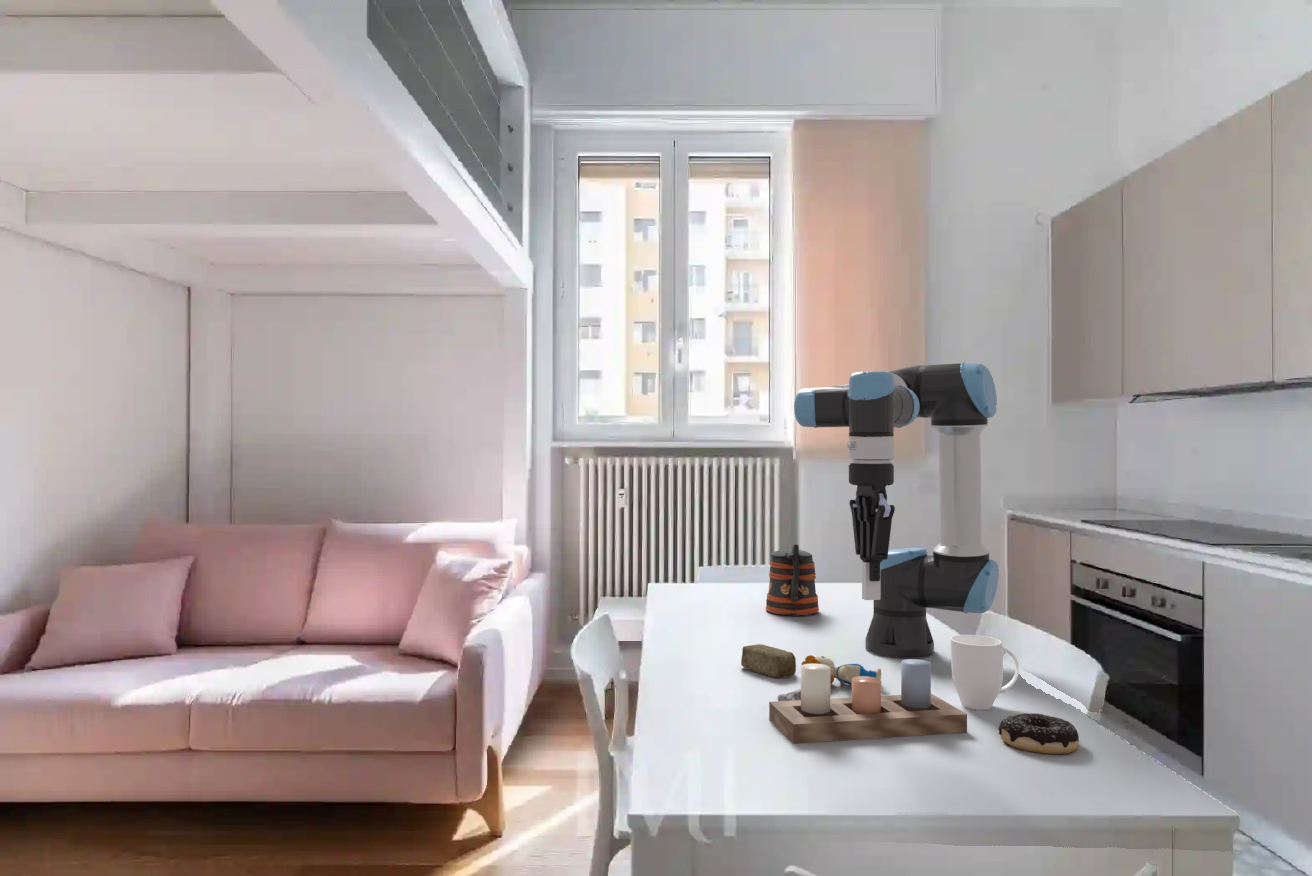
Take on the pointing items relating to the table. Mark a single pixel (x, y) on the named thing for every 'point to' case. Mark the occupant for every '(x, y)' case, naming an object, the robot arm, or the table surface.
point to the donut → (1039, 733)
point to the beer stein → (792, 583)
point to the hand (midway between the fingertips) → (871, 599)
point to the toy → (842, 669)
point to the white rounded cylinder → (815, 688)
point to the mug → (979, 669)
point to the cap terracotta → (866, 695)
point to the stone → (790, 696)
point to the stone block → (768, 661)
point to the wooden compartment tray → (866, 720)
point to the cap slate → (916, 683)
